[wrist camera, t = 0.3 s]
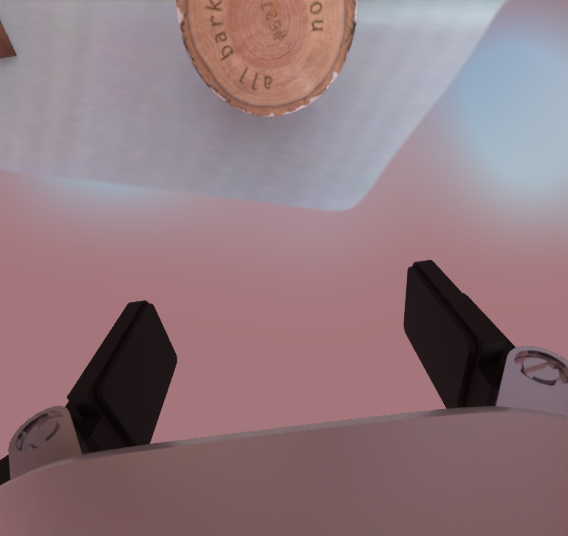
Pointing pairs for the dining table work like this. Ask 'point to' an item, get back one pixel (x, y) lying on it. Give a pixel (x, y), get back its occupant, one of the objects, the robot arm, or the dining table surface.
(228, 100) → the brown bark cylinder
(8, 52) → the walnut block
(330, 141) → the dining table surface
